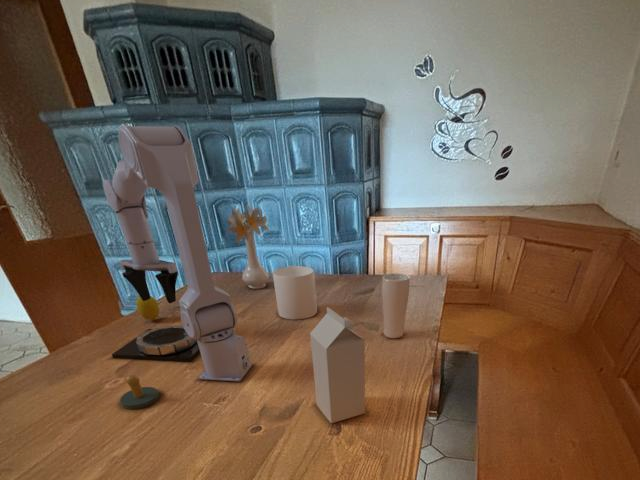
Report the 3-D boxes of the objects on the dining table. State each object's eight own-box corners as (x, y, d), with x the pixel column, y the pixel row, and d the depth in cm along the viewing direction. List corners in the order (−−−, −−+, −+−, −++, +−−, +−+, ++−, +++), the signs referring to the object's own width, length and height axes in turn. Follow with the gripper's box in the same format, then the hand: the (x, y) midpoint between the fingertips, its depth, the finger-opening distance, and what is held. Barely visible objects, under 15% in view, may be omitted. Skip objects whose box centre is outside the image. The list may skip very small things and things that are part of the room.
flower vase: (238, 296, 130) (221, 212, 115) (241, 280, 144) (226, 204, 129) (277, 293, 132) (265, 210, 117) (276, 278, 146) (265, 202, 131)
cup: (324, 310, 118) (321, 269, 111) (300, 322, 110) (295, 279, 103) (295, 303, 123) (291, 264, 116) (270, 314, 115) (263, 273, 108)
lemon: (155, 325, 110) (145, 297, 105) (138, 323, 111) (127, 295, 106) (166, 318, 114) (157, 290, 109) (150, 316, 115) (140, 289, 110)
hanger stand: (166, 391, 80) (157, 367, 77) (147, 410, 75) (136, 385, 71) (135, 390, 81) (125, 366, 78) (114, 408, 75) (102, 383, 72)
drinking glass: (377, 338, 101) (378, 279, 92) (385, 328, 106) (387, 271, 97) (401, 341, 99) (405, 282, 90) (409, 332, 104) (413, 274, 95)
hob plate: (218, 335, 104) (217, 330, 103) (190, 362, 91) (188, 357, 90) (150, 332, 106) (148, 327, 105) (113, 358, 93) (110, 353, 92)
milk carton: (331, 424, 70) (324, 324, 59) (316, 405, 75) (307, 310, 64) (365, 414, 73) (365, 316, 61) (348, 396, 78) (345, 303, 66)
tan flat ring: (205, 333, 101) (203, 326, 100) (180, 356, 91) (177, 348, 89) (158, 331, 103) (155, 324, 102) (127, 353, 92) (124, 345, 91)
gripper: (100, 243, 87) (123, 303, 95) (155, 246, 84) (173, 308, 92) (123, 237, 92) (143, 294, 100) (175, 240, 89) (191, 299, 97)
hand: (159, 300), depth 97 cm, fingers open, 7 cm apart
